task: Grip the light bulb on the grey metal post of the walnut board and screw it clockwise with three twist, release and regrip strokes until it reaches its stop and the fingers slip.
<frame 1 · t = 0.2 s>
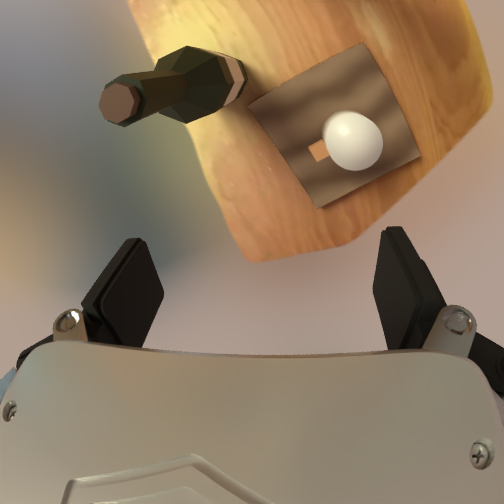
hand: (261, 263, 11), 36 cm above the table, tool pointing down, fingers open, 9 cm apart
post board: (339, 125, 40), on the table
light bulb: (344, 142, 34), point 9 cm above the table, hinge at 0.0°
wine bottle: (220, 78, 38), on the table
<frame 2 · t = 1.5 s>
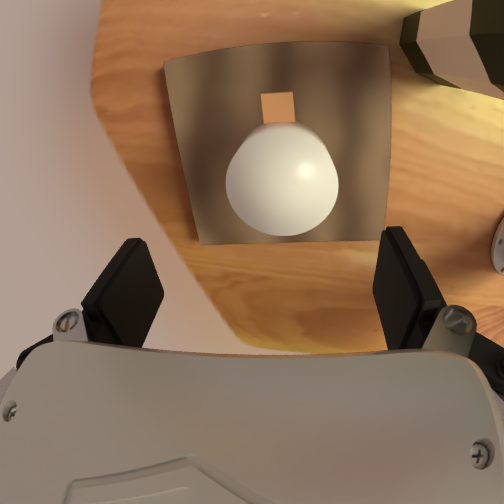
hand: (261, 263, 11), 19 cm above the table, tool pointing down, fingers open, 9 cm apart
post board: (285, 144, 27), on the table
light bulb: (281, 159, 19), point 9 cm above the table, hinge at 0.0°
wine bottle: (434, 46, 18), on the table
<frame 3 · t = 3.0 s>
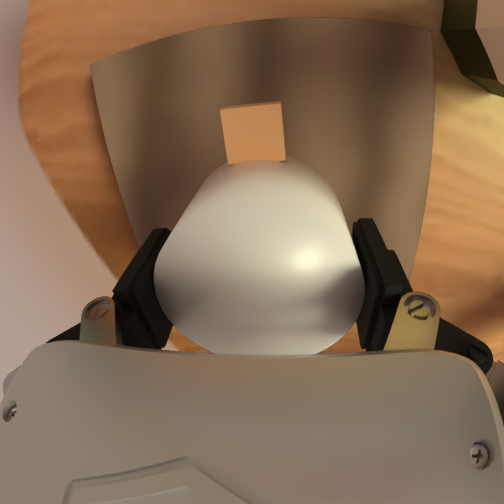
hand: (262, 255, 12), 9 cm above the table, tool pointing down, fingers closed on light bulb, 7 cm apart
post board: (272, 178, 19), on the table
light bulb: (259, 235, 11), point 9 cm above the table, hinge at 0.0°, touching gripper
wine bottle: (484, 39, 10), on the table
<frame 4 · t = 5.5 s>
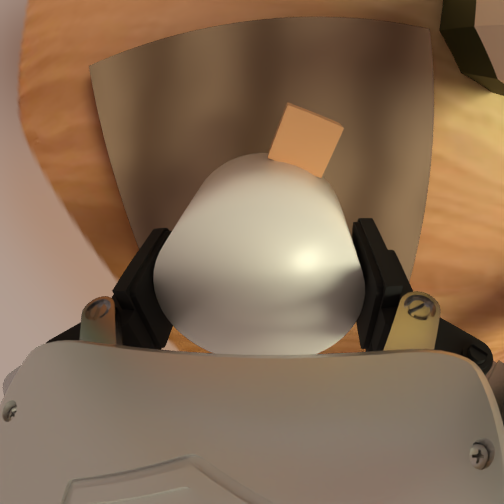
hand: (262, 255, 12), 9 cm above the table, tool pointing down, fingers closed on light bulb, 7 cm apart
post board: (272, 178, 19), on the table
light bulb: (271, 237, 11), point 9 cm above the table, hinge at 25.2°, touching gripper
wine bottle: (483, 38, 10), on the table
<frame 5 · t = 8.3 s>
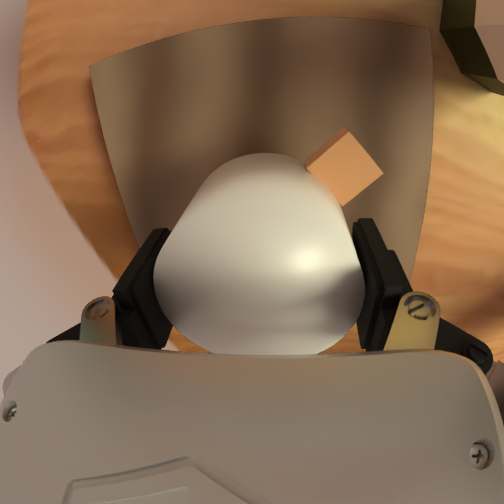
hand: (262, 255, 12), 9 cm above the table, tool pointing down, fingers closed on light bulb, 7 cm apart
post board: (272, 178, 19), on the table
light bulb: (282, 243, 11), point 9 cm above the table, hinge at 49.8°, touching gripper
wine bottle: (483, 38, 10), on the table
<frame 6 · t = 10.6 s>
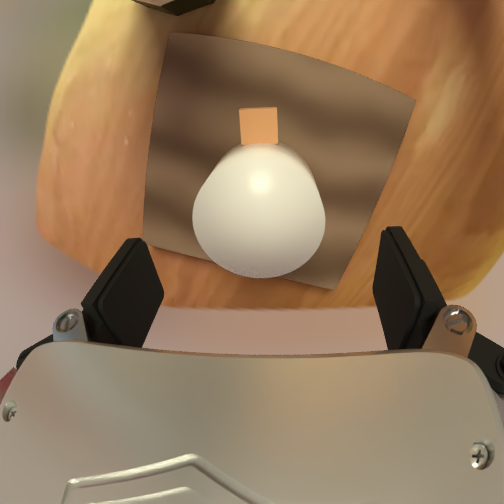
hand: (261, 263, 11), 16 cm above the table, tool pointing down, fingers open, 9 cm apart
post board: (266, 164, 25), on the table
light bulb: (260, 188, 17), point 9 cm above the table, hinge at 73.4°
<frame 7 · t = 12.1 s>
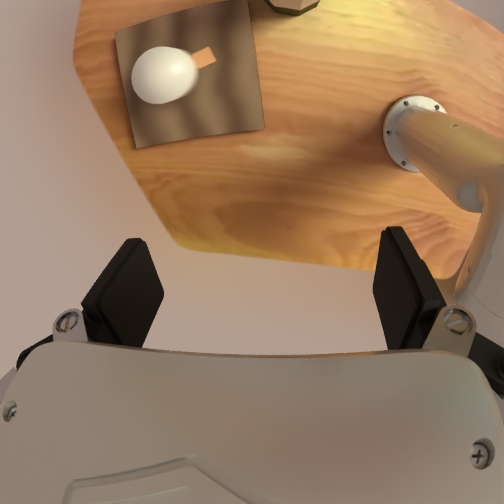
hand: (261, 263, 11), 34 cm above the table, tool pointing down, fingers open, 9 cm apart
post board: (188, 73, 36), on the table
light bulb: (174, 70, 28), point 9 cm above the table, hinge at 74.1°
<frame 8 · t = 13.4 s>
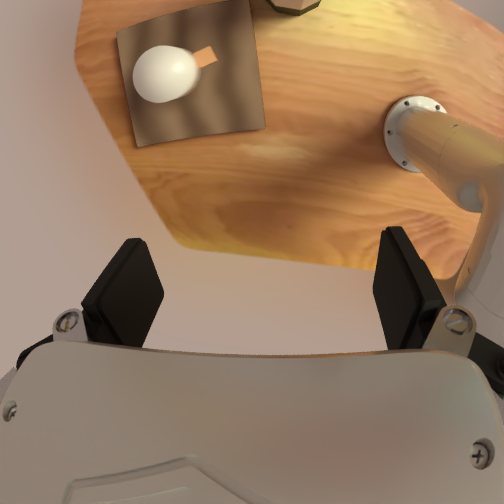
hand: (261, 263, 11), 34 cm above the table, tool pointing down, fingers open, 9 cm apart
post board: (189, 72, 36), on the table
light bulb: (175, 69, 28), point 9 cm above the table, hinge at 74.2°
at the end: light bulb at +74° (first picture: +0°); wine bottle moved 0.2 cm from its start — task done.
